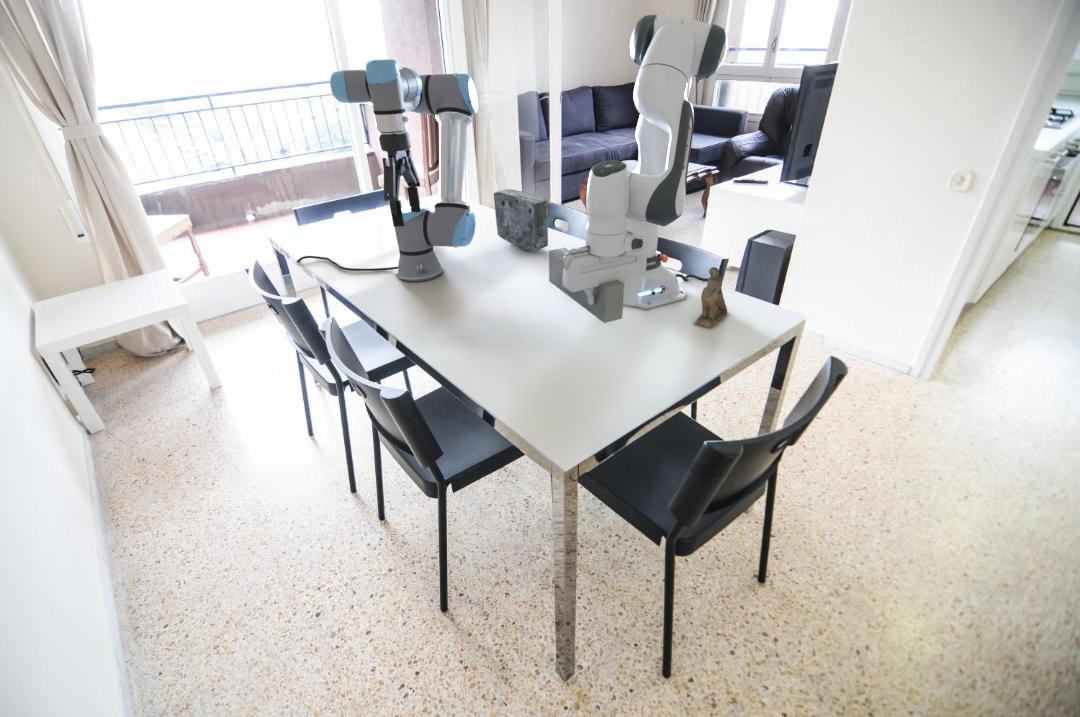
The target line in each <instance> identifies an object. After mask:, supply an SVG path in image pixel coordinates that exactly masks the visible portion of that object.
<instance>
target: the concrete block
mask: <svg viewBox="0 0 1080 717" xmlns="http://www.w3.org/2000/svg"><path fill="white" fill-rule="evenodd" d="M493 202H494V213H495V222H496V224H495V225H496V231H497V232H496V233H497V236H498V237H499V238H501V239H503V240H505V241H506V242H508V243H510V244H511V245H513V246H515V247H517V248H518V249H521V250H524V251H530V252H537V251H539V250H541V249H544V248H547V247H548V246H549V228H548V223H549V222H548V221H549V219H548V218H549V217H548V199H546V198H544V197H541V196H539V195H536V194H533V193H531V192H530V193H529V192H525V191H522V190H517V189H511V188H510V189H509V188H507V189H501V190H498V191H497V190H496V191H495V192H493Z"/></svg>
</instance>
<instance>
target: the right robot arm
mask: <svg viewBox="0 0 1080 717" xmlns="http://www.w3.org/2000/svg"><path fill="white" fill-rule="evenodd" d="M727 37H728V32H727V31H726V29H725V28H723V27H722V26H720V25H718V24H715V23H712V24H709V23H707V22H704V21H701V20H698V19H693V18H689V17H685V18H682V17H676V16H658V14H647V15H643V16H642V17H641V18H640V19H639V20H638V21H637V22H636V25H635V27H634V28H633V31H632V33H631V35H630V41H629V51H630V58H631V60H632V62H633V63H634V64H636V65H637V66H638V67H640V68H639V70H638V74H637V77H636V80H635V83H634V88H633V96H632V99H633V103H634V107H635V109H636V110H637V112H638V113H639V117H638V120H637V124H636V127H635V132H634V133H635V134H634V137H635V140H636V143H637V148H638V160H635V159H627V160H622V161H621V160H606V161H601V162H598V163H596V164H595V165H593V166H592V167H591V168H590V170H589V174H588V180H587V185H586V197H585V199H586V200H585V210H586V214H587V222H586V225H585V246H581V247H578V248H571V249H568V250H569V252H568V253H566V255H565V256H564V259H563V265H564V269H563V278H562V284H563V286H564V287H565V288H566V289H567V290H569V291H570V292H576V291H580V290H584V291H585V293H586V295H587V296H588V303H589V304H590V305H593V304H596V303H597V297H596V296H595V295H593V294H592V293H591V292H593V287H597V286H599V284H602V283H607V282H611V281H615V280H619V281H620V282H622V283H624V297H623V306H631V307H637V308H641V309H645V310H649V309H653V308H656V307H659V306H660V307H661V306H664V305H667V304H670V303H674V302H678V301H682V300H684V299H686V293H685V291H684V290H683V289H682V288H681V287H680V286H679V280H678V278H681V279H682V281H683V282H688V281H689V278H692V279H696V280H698V281H702V282H708V279H709V278H710V277H707V278H704V277H700V276H698V275H696V274H686V275H684V274H681V273H675V272H673V270H672V271H671V270H670V269H669V268H668V267H667V266H665V264H663V263H668V261H669V257H668V256H667V255H666V254H665V253H663V254H662V253H661V252H660V251H658V241H659V232H660V231H659V230H660V228H659V226H660V227H666V226H669V225H671V224H672V223H674V222H675V221H677V220H678V219H680V218H681V216H682V215H683V213H684V209H685V206H686V198H687V197H686V196H687V179H688V173H689V172H688V171H689V165H690V159H691V150H692V144H693V137H694V136H693V135H694V128H695V127H694V124H695V112H694V106H693V104H692V103H691V102H690V101H689V97H690V91H691V87H692V79H693V77H696V85H698V84H700V82H701V80H706V79H709V78H710V77H712V76H714V74H716V73H717V71H718V69H719V68H720V67H721V66H722V64H723V62H724V60H725V58H726V54H727V50H728V38H727ZM568 254H569V255H568ZM720 273H721V272H720V271H719V274H720Z"/></svg>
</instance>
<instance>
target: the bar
mask: <svg viewBox="0 0 1080 717" xmlns="http://www.w3.org/2000/svg"><path fill="white" fill-rule="evenodd" d="M569 250H570V249H568V248H566V247H561V248H560V247H559V248H556V249H555V248H554V249H551V250H550V249H549V250H548V282H549V283H551V284H552V285H553V286H555V287H556V288H557V289H559V290H560V291H561V292H563V293H564V294H565V295H566V296H568V297H569V298H570V299H571V300H573V301H574V302H576V303H577V304H578V305H580V306H581V307H582V308H583V309H585V310H586V311H587V312H589V313H590V314H592V316H594V317H595V318H597V319H598V320H599V321H601V322H602V323H604V324H607V323H610V322H613V321H614V322H615V321H618V320H622V319H623V313H624V312H623V311H624V304H623V297H624V283H622V282H620V281H619V280H615V281H611V282H607V283H602V284H599V286H597V287H593V292H591V293H592V294H593V295H595V296H596V297H597V303H596V304H593V305H590V304H589V303H588V296H587V295H586V293H585V291H584V290H580V291H576V292H570V291H569V290H567V289H566V288H565V287H564V286H563V284H562V278H563V269H564V265H563V259H564V256H565V255H566V253H568V252H569ZM568 255H569V254H568Z"/></svg>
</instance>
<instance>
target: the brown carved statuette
mask: <svg viewBox="0 0 1080 717" xmlns="http://www.w3.org/2000/svg"><path fill="white" fill-rule="evenodd" d="M719 272H720V270H719V269H718V268H717V267H715V266H712V267H711V268H710V269H709V270H708V273H709V275H710V276H709V277H708V278H709V279H708V281H707V284H706V286H705V287H704V288H703V290H702V292H701V297H700V298H701V309H702V312H701V315H700V316H699V317H698V318H697V319H696V321H695V324H696V325H699V326H703V327H705V328H712V327H714V326H715V325H716V324H717V323H719V321H721V320H722V319H723V318H725V317H726V316H727V315H728V307H727V304H726V301H725V298H724V293H723V290H722V287H723V281H722V279H721V278H720V273H719Z"/></svg>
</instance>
